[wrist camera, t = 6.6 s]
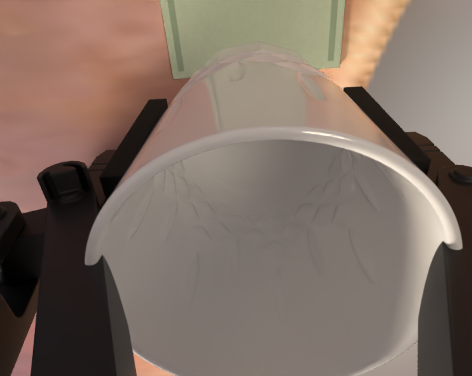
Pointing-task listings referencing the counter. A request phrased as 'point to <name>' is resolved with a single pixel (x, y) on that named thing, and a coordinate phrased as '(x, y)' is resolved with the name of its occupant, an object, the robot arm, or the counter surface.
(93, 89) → the counter surface
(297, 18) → the napkin
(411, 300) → the white cup
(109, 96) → the counter surface
